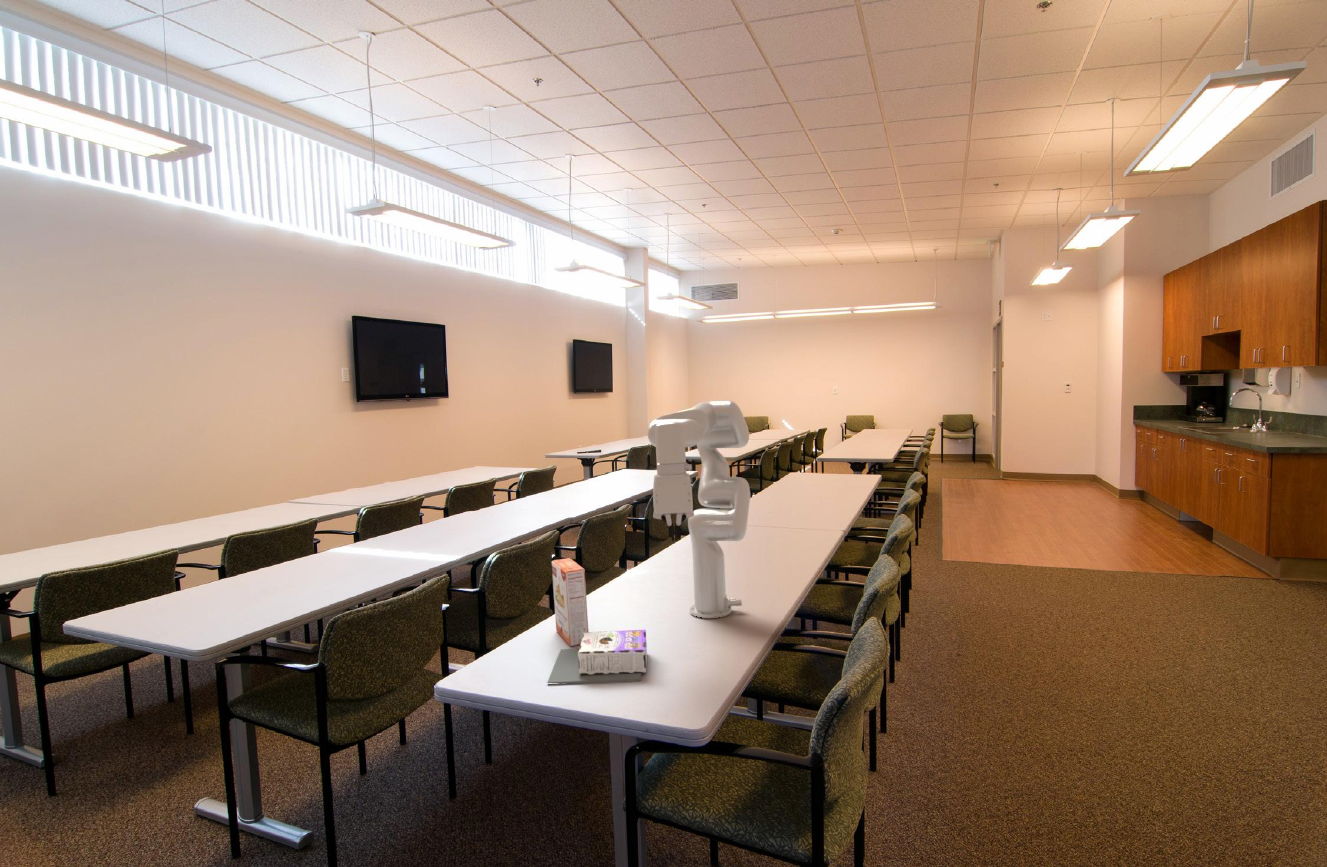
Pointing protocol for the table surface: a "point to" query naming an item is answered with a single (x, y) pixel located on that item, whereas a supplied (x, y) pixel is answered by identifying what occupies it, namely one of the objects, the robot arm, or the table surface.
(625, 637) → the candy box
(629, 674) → the rubber mat
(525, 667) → the table surface
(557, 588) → the cracker box
